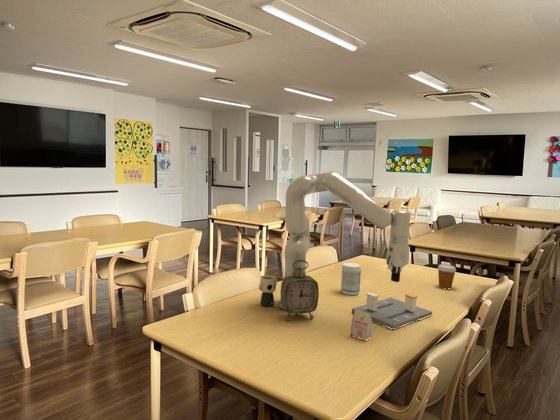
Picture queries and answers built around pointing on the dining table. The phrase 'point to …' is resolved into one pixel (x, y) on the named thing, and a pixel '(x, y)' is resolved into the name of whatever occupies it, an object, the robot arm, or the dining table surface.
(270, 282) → the character mug
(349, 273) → the supplement tub
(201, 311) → the dining table surface
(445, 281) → the disposable coffee cup
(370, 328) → the tea bag
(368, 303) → the fader cream
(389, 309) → the panel
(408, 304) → the fader orange
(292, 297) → the tabletop clock
